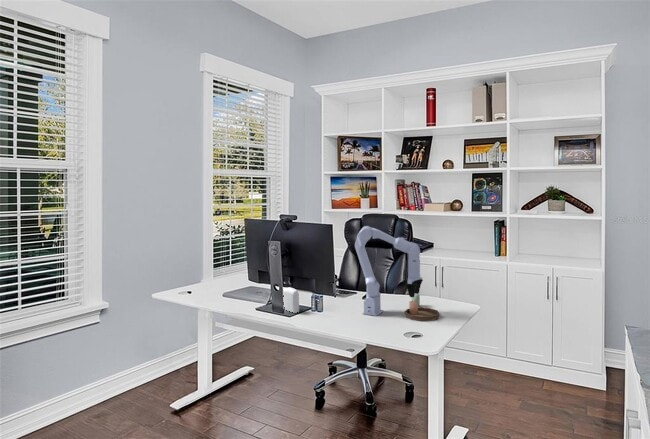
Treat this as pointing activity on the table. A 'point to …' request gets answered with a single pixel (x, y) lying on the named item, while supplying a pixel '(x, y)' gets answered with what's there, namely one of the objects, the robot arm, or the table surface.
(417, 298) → the sage green bead
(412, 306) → the terracotta bead
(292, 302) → the photo printer
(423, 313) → the tray
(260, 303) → the table surface
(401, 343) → the table surface
